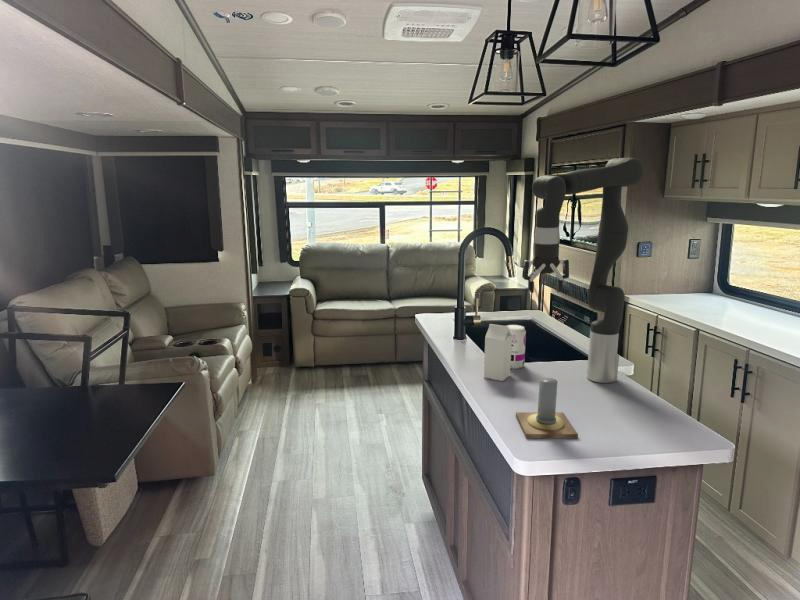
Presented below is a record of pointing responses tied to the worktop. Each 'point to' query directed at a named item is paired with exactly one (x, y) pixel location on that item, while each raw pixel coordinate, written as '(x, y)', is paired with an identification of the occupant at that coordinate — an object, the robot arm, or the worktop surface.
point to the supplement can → (517, 346)
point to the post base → (545, 426)
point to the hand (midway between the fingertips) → (544, 291)
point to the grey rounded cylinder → (547, 401)
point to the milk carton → (497, 352)
